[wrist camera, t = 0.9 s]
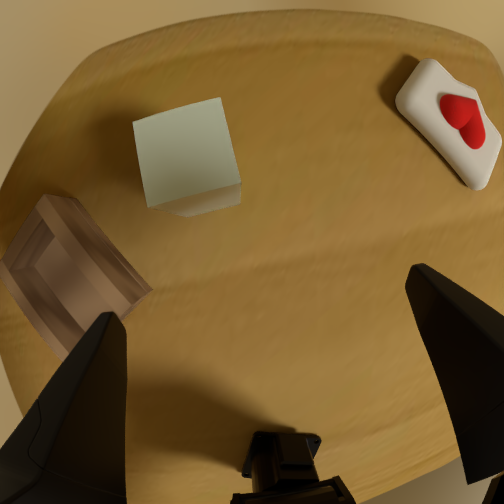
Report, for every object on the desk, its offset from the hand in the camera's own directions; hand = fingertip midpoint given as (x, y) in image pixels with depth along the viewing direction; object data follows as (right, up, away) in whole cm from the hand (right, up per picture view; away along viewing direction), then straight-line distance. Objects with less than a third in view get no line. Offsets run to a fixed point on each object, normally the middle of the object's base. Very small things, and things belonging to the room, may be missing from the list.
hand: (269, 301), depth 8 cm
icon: (+19, +14, +14) cm, 28 cm away
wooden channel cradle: (-14, -1, +13) cm, 20 cm away
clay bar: (-4, +6, +13) cm, 15 cm away
